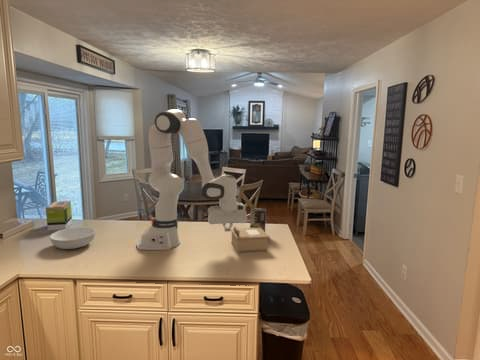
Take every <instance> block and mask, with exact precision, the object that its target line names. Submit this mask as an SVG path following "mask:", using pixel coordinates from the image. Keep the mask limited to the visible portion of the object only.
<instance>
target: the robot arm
mask: <svg viewBox="0 0 480 360" xmlns="http://www.w3.org/2000/svg"><path fill="white" fill-rule="evenodd" d="M177 134H179V135H180V136H181V138H182V141H183V144H184V147H185V149H186V152H187V154H188V156H189V157H190V158H191V159H192V160H193V161H194V163H195V164H196V166H197V168H198V171H199V174H200V177H201V186H200V187H201V195H202V197H203V198H204V199H205V200H207V201H214V200H219V205H215V206H214V205H211V206H209V207H208V208H207V215H208V217H207V222H208V224H209V225H222V226H223V229H224V232H231V229H232V227H233V224H244V223H247V221H248V216H247V215H248V213H247V210H246V206H245V204H243V202H240V201H238V199H237V192H238V185H237V178H236V177H235V176H233V175H231V174H228V173H227V174H226V173H223V174H221V175H219V176H218V177H216V176H214V174H213V171H212V168H211V165H210V161H209V146H208V140H207V137H206V135H205V131H204V129H203V128H202V125H201V123H200V122H199V120H198V119H196V118H192V117H191V118H189V116H188V114H187V113H186V112H185V111H184V110H183V109H179V108H175V109H173V108H172V109H171V108H170V109H168V110H163V111H160V112H159V113H158V114H157V115H156V116H155V118H154V124H153V125H152V126H150V127H149V129H148V145H149V146H148V147H149V153H150V160H151V169H150V175H149V177H148V184H149V186H150V187H151V188H152V189H153V190H154V191H157V192H159V196H158V200H157V202H156V203H155V207H154V208H155V209H154V210H155V217H151V219H150V221H151V225H150V226H149V227H148V228H146V229H144V231H143V232H142V234H141V237H140V239H139V240H138V241H137V242H136V248H137V250H140V251H142V250H144V251H145V250H146V251H150V250H151V251H168V250H170V249H172V248H175V247H178V246H179V245H180V243H181V241H180V238H179V234H178V227H179V226H178V225H179V221H178V213H177V212H178V210H177V209H178V201H179V196H180V195H181V193H182V192H183V191H184V189H185V181H184V180H183V179H182V178H181V177H180V176H179V175H178V174H176V173H175V174H174V173H172V172H171V167H172V164H173V162H174V154H173V145H172V138H171V137H172V135H177ZM227 224H229V226H228V227H226V225H227Z"/></svg>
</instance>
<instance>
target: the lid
mask: <svg viewBox="0 0 480 360" xmlns="http://www.w3.org/2000/svg"><path fill="white" fill-rule="evenodd" d="M230 232H231V234H232V233H233V235H234V236H235V238H236V239H237V240H242V239H259V238H268V239H270V236H269V235H268V234H267V233H266V231H265V232H264V231H263V230H262V229H261V228H250V227H248V228H247V227H245V228H244V227H243V228H241V227H240V228H238V227H237V226H233V228H231V229H230Z"/></svg>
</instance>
